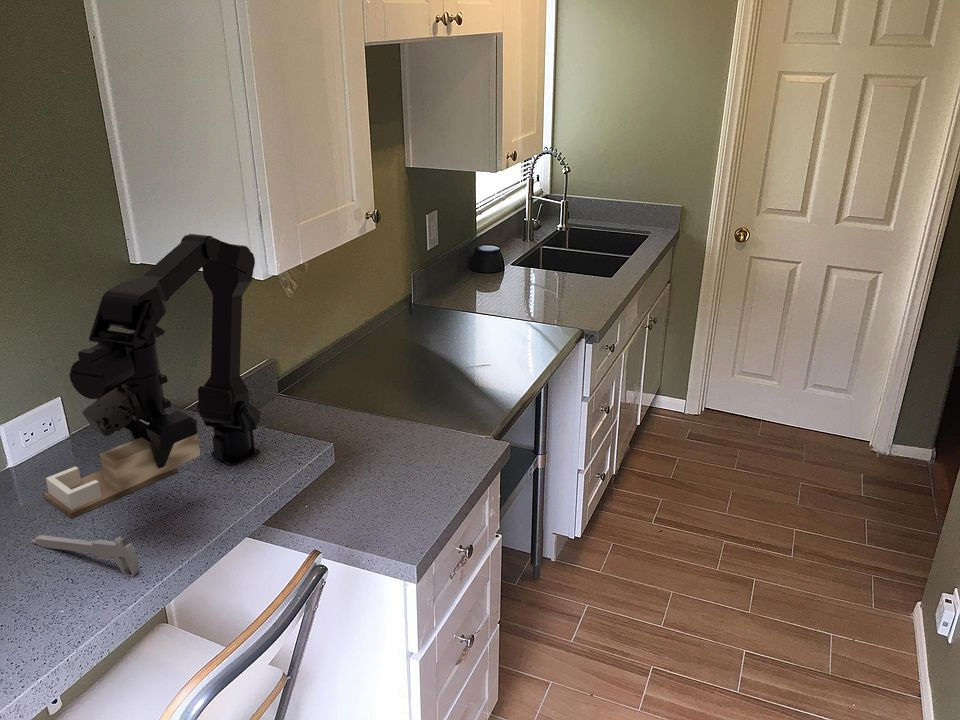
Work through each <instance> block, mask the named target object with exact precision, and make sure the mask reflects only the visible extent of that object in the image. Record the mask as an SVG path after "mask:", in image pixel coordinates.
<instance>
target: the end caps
mask: <svg viewBox="0 0 960 720" xmlns="http://www.w3.org/2000/svg"><path fill="white" fill-rule="evenodd" d="M81 478H82V477H81V473H80V469H79V467H78V466H75V465H74V466H73V467H70V468H68V469H66V470H63V471H60V472H58V473H56V474H52V475H50V476H48V477H45V482H46V486H47V492H49V494H50V495H51V496H53V497H54V498H55V499H57V500H58V501H60V502H61V503H62V504H64V505H65V506H66V507H68V508H69V509H70V510H74V509H76V508H78V507H81V506H83V505H85V504H88V503H90V502H92V501H94V500H97V499H99V498H101V491H100V486H99V482H98V481H97V480H94V481H91V482H89V483H87V484H84V485H82V486H79V487H77V488H74V489H72V490H71V489H70V488H72V487H74V486H77V485H79V484H82V483H81Z"/></svg>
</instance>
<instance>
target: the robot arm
mask: <svg viewBox="0 0 960 720" xmlns="http://www.w3.org/2000/svg"><path fill="white" fill-rule="evenodd" d="M251 251H252V250H250V248H249V247H248V246H246V245H243V244H242V245H241V244H233V243H229V242H225V241H222V240H220V239H217V238H215V237H214V236H212V235H206V234H205V235H204V234H197V233H189V234H186V235H184V236H183V237H182V238H181V241H180V243H179V244H177V245H176V246H175V247H174V248H173V249H171V250H170V251H169V252H168V253H166V255H164V256H163V258H161V259H160V260H159V261H158V262H157V263H156V264H154V265H153V266H152V267H151V268H150V269H148V270H147V272H145V273H144V274H143V275H141V276H139V277H136V278H134V279H130V280H127V281H123V282H121V283H119V284H117V285H115V286H113V287H112V288H110V289H108V290H107V291H106V292H105V293H104V294H103V295H102V297H101V299H100V303H99V306H98V309H97V312H96V316H95V318H94V322H93V324H92V329H91V331H90V335H89V337H88V341H89V342H90V343H97V344H95V345H93V346H91V347H89V348H84V349H82V350H80V351H78V353H77V355H78V360H76V361H75V362H74V363H73V364H72V366H71V368H70V372H69V379H70V382H71V384H72V386H73V388H74V389H75V390H76V392H77V393H79V394H80V395H81V396H82V397H84V398H86V399H89V400H95V401H94V402H93V403H91V404H90V405H88V406H87V407H86V408H85V409H83V411H82V415H83V416H84V418H85V420H86V421H87V422H88V424H89V425H90V427H91V428H92V430H94V431H96V432H98V433H100V434H101V435H102V436H104V437H109V436H111V435H113V434H114V433H116V432H120V431H121V430H122V429H126V431H127V433H128V435H129V437H130V438H132V439H131V441H132V440H136V439H138V438H143V439H144V440H146V441H148V442H149V443H150V446H151V450H152V453H153V456H154V460H155V462H156V465H157V467H158V468H162V467H164V466H165V465H166V462H167V460H168V457H169V455H170V452H171V450H172V447H173V445H174V443H176V442H178V441H181V440H183V439H186V438H188V437H191V436H193V435H195V434H197V433H198V434H199V426H198V420H197V419H195V418H193V417H192V416H189V415H188V414H185V412H184V413H183V412H182V411H180V410H175V411H172V412H169V413H166V412H165V413H164V412H163V409H165V410H166V409H168V408H171V407H172V404H171V400H170V399H168V398H165V394H164V387H163V384H166V383H168V377H167V375H165V374H163V373H162V371H161V367H160V360H159V359H160V358H159V352H158V346H157V345H158V344H157V338H159V337H161V336H163V335H165V333H166V331H165V329H163V328H162V327H160V326H158V323H160V321H161V320H162V318H163V317H164V316H165V315H166V313H167V302H168V301H169V299H171V297H172V296H173V295H174V294H175V293H176V292H177V291H178V290H180V289H181V288H182V287H183V286H184V285H186V283H187V282H188V281H189V280H190V279H191V278H192V277H193V276H194V275H195V274H196V273H197V272H199V271H200V270H201V269H202V278H203V280H204V282H205V284H206V286H207V288H208V290H209V291H210V293H211V295H212V296H211V297H212V298H211V300H212V301H211V335H210V336H211V337H210V338H211V340H210V341H211V344H210V374H209V375H210V376H209V377H208V379H207V380H206V382H205V383H204V384H203V385H200V386H199V387H198V389H197V395H198V398H197V399H198V400H197V405H196V409H198V415H199V417H201V420H202V421H203V423H204V426H205V427H208V428H209V427H210V428H213V436H212V437H211V438H212V445H213V450H212V451H211V456H212V457H214V458H216V459H218V460H220V461H222V462H224V463H225V464H227V465H229V466H235V465H237V464H239V463H241V462H244V461H247V460H249V459H251V458H253V457H255V456H257V455H259V454H260V453H261V450H260V449H259V448H256V446H255V440H254V439H255V438H254V431H255V430H257V429H258V424H260V422H261V421H260V420H261V411H260V409H258V408H256V407H255V406H253V405H252V404H251V403H250V395H249V394H250V393H249V389H248V387H247V385H246V384H245V382H244V380H243V378H242V377H241V350H242V349H241V347H242V346H241V345H242V344H241V343H242V318H243V317H242V316H243V314H242V311H243V295H244V294H245V293H246V290H248V288H249V286H250V285H251V283H252V282H253V276H254V275H253V274H254V269H255V266H256V265H255V264H256V259H255V255H254V253H253V252H251ZM110 328H113V329H114V328H115V329H121V330H128V332H124V331H122V332H121V331H115V330H110Z"/></svg>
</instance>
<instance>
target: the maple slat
mask: <svg viewBox="0 0 960 720" xmlns="http://www.w3.org/2000/svg"><path fill="white" fill-rule="evenodd" d="M199 456H201V450H200V441H199V432H198V433H197V434H195V435H193V436H191V437H188V438H186V439H183V440H181V441H178V442H176V443H174V445H173V447H172V450H171V452H170V455H169V457H168V460H167V462H166V465H165V466H164V467H162V468H158V467H157V465H156V462H155V460H154V456H153V453H152V450H151V446H150V443H149V442H148V441H146V440H144V439H143V438H138V439H136V440H133V441H132V440H131V441H129V442H126V443H123V444H120V445H117V446H115V447H113V448H111V449H108V450H105V451H104V452H103V451H102V452H100V453H99V457H100V463H101V468H102V469H101V470H103V474H104V480H105V483H107V484H108V485H110V486H111V487H113V488H115V489H116V490H118V491H119V492H120V491H122V490H124V489H126V488H129V487H131V486H133V485H135V484H138V483H140V482H142V481H144V480H147V479H149V478H151V477H153V476H155V475H158V474H160V473H162V472H164V471H167V470H169V469H171V468H173V467H178V466H179V465H182V464H184V463H187V462H188V461H192V460H194V459H195V458H198V457H199Z"/></svg>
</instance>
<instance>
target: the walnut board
mask: <svg viewBox="0 0 960 720" xmlns="http://www.w3.org/2000/svg"><path fill="white" fill-rule="evenodd" d="M176 473H179V470H178V466H176V467H173V468H171V469H169V470H167V471H164V472H162V473H160V474H158V475H155V476H153V477H151V478H149V479H147V480H144V481H142V482H140V483H138V484H135V485H133V486H131V487H129V488H126V489H124V490H122V491H120V492H119V491H118V490H116V489H115V488H113V487H111V486H110V485H108V484H107V483H105V480H104V474H103V469H101V470H98V471H96V472H93V473H90V474H89V475H86V476H83V477H80V478H81V483H82V484H79V485H77V486H74V487H72V488H70V489H71V490H72V489H74V488H77V487H79V486H82V485H84V484H87V483H89V482H91V481H94V480H97V481H98V482H99V486H100V491H101V498H99V499H97V500H94V501H92V502H90V503H88V504H85V505H83V506H81V507H78V508H76V509H74V510H70V509H69V508H68V507H66V506H65V505H64V504H62V503H61V502H60V501H58V500H57V499H55V498H54V497H53V496H51V495H50V494H49V492H48V491H47V492H43V495H44V496H43V497H44V499H45V500H46V501H48V502H49V503H50V504H51V505H53V506H54V507H55V508H57V509H58V510H60V511H61V512H62V513H64V514H65V515H66V516H67V517H69V518H70V519H74V518H76V517H78V516H81V515H83V514H85V513H87V512H90V511H91V510H95V509H97V508H99V507H101V506H103V505H105V504H108V503H110V502H113V501H115V500H117V499H120V498H121V497H124V496H126V495H129V494H131V493H134V492H136V491H138V490H140V489H142V488H145V487H147V486H149V485H151V484H155V483H156V482H159V481H161V480H162V479H166V478H167V477H170V476H173V475H175V474H176Z"/></svg>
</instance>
